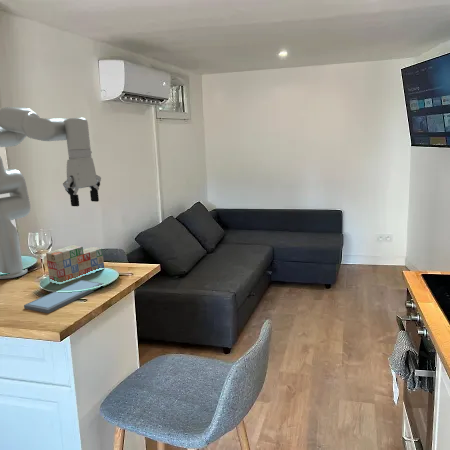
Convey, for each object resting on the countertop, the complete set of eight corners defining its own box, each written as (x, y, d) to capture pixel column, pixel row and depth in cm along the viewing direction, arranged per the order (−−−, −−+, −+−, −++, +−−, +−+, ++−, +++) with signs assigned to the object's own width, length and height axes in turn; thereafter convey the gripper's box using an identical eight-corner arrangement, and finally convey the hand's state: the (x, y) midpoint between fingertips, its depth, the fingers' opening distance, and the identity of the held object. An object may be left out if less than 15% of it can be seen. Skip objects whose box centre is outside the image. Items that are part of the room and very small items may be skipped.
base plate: (24, 308, 149) (23, 304, 149) (81, 282, 171) (80, 279, 171) (48, 313, 144) (47, 309, 144) (103, 286, 167) (103, 283, 166)
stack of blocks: (95, 267, 190) (92, 239, 188) (104, 270, 187) (101, 241, 184) (49, 282, 174) (45, 252, 171) (59, 285, 170) (54, 254, 167)
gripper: (89, 153, 165) (94, 199, 168) (52, 156, 150) (58, 207, 153) (105, 152, 161) (110, 200, 165) (69, 156, 146) (75, 208, 150)
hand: (85, 203), depth 159 cm, fingers open, 9 cm apart
